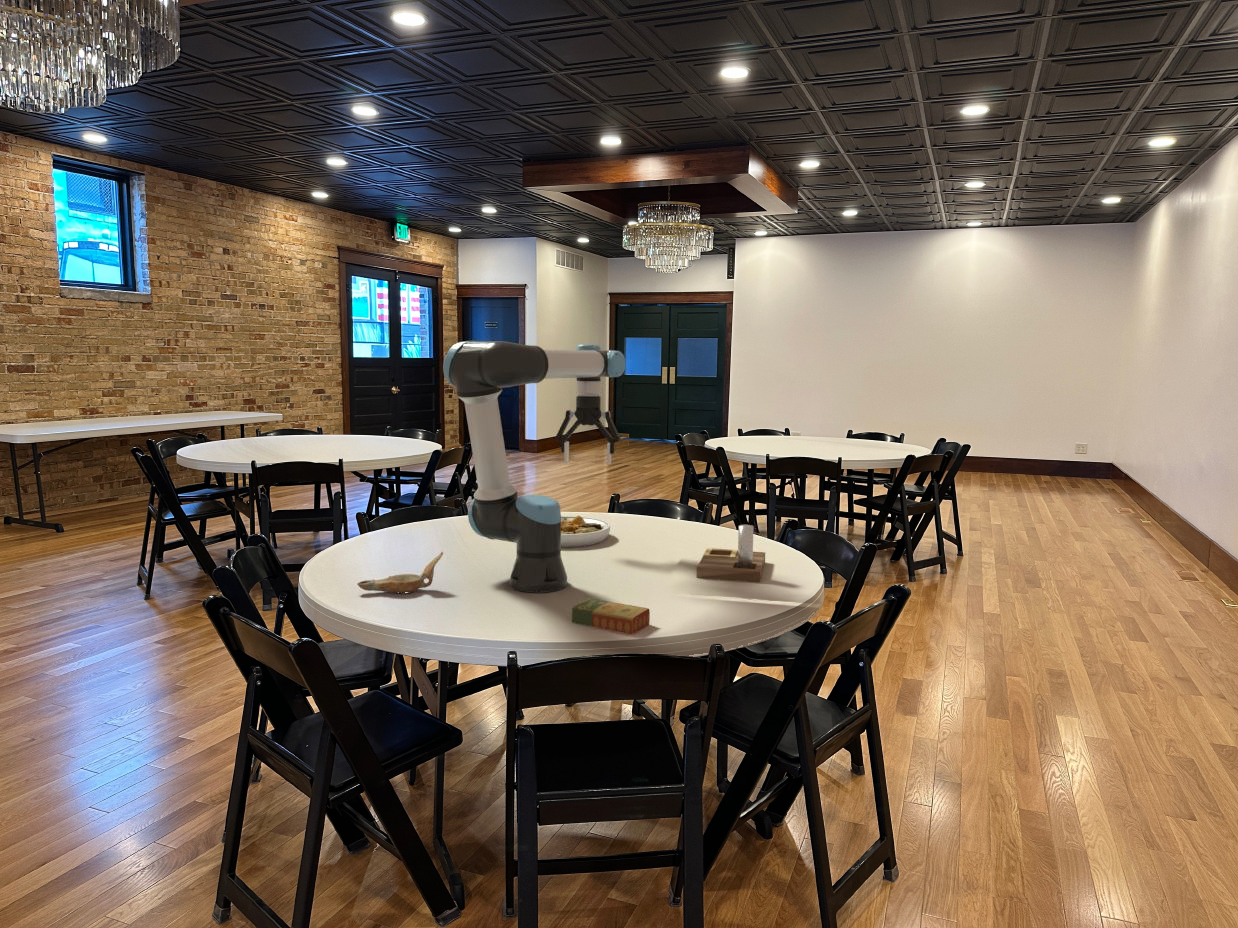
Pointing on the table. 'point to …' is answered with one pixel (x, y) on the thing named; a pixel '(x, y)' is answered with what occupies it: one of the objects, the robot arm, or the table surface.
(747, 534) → the steel pin
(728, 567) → the socket board
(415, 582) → the oil lamp
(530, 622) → the table surface
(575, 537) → the bowl
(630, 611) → the carton
